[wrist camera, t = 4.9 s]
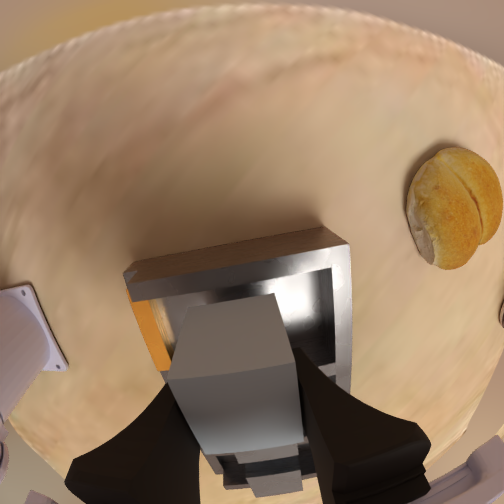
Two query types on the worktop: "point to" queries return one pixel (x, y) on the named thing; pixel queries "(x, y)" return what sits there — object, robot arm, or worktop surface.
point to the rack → (292, 311)
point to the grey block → (237, 376)
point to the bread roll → (453, 206)
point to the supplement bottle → (502, 316)
